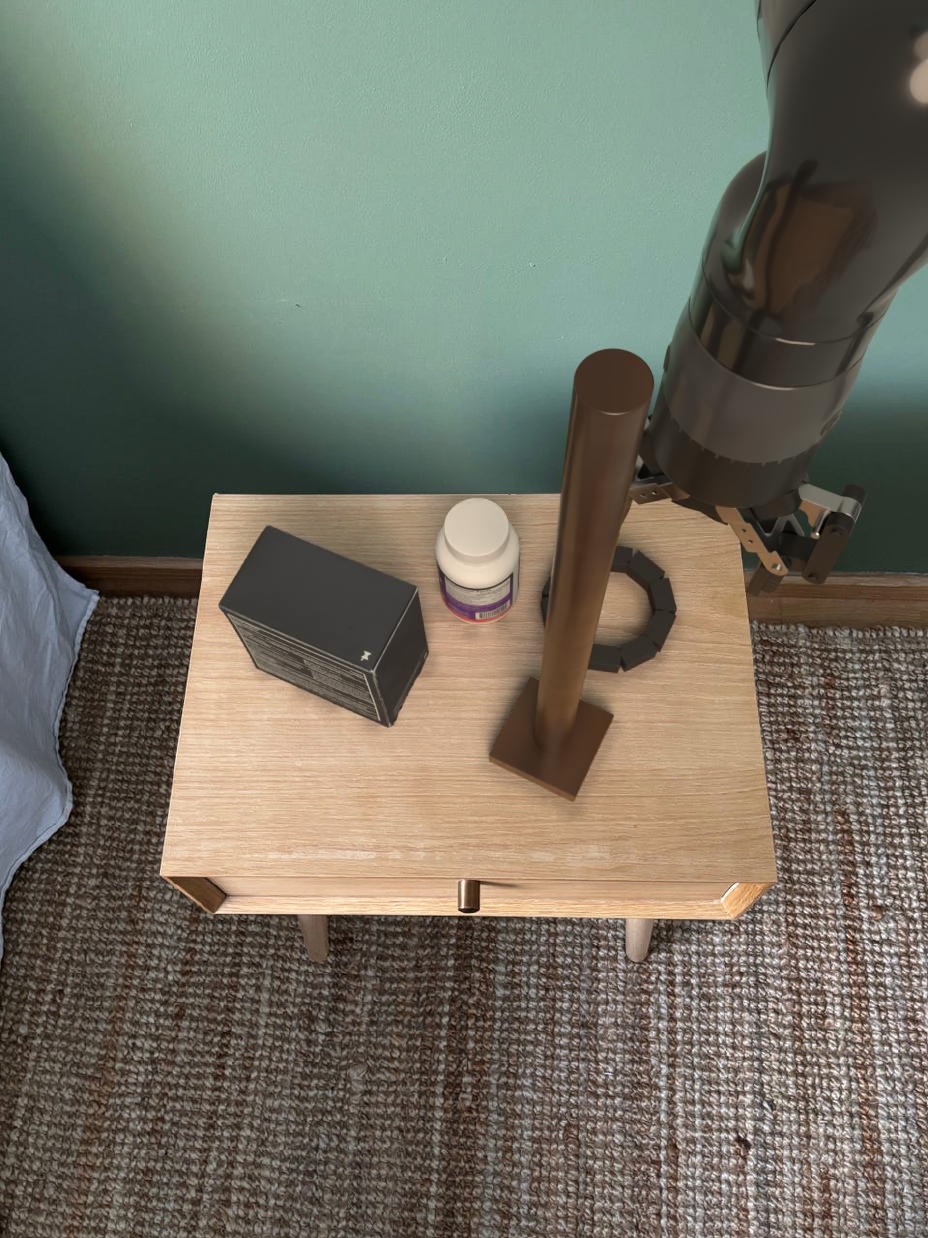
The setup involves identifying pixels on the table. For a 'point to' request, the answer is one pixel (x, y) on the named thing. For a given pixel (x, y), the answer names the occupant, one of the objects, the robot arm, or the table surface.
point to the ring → (659, 625)
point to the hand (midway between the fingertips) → (685, 550)
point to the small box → (328, 624)
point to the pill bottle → (478, 561)
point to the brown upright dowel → (580, 574)
